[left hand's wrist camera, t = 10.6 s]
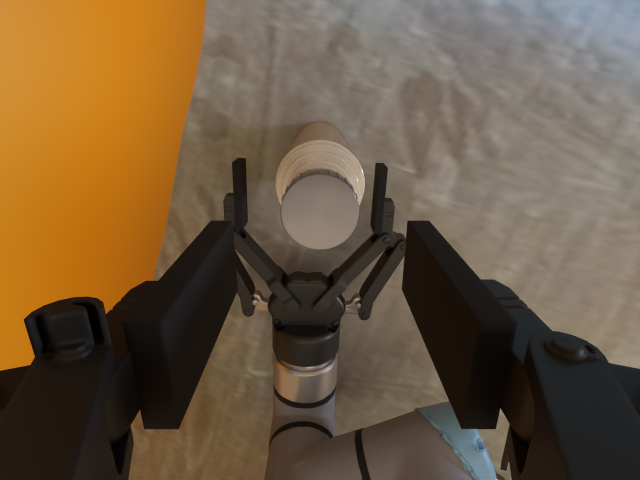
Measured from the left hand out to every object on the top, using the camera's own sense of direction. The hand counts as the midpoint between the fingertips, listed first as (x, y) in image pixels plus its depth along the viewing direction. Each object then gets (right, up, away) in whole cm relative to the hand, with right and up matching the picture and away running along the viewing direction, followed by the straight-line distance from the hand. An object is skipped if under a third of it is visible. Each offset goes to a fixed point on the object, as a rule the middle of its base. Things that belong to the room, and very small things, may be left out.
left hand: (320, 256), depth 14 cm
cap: (0, +2, +5) cm, 6 cm away
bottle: (0, +11, +29) cm, 31 cm away
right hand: (-1, +8, +23) cm, 24 cm away
